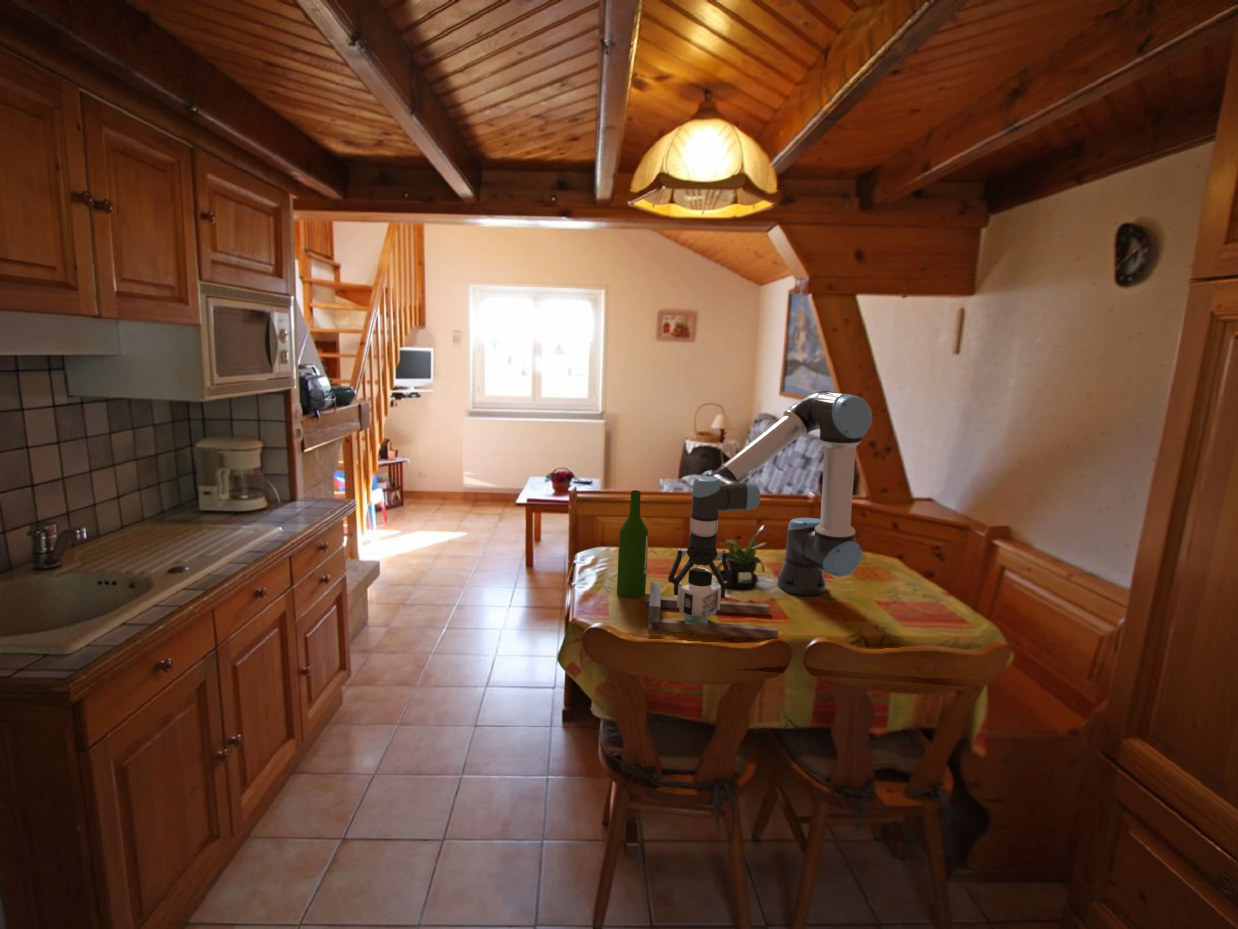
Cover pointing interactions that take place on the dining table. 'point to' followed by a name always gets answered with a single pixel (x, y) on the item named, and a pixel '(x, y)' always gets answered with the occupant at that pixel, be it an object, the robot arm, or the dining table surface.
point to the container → (699, 594)
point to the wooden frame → (705, 618)
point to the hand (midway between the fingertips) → (698, 607)
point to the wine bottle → (632, 552)
